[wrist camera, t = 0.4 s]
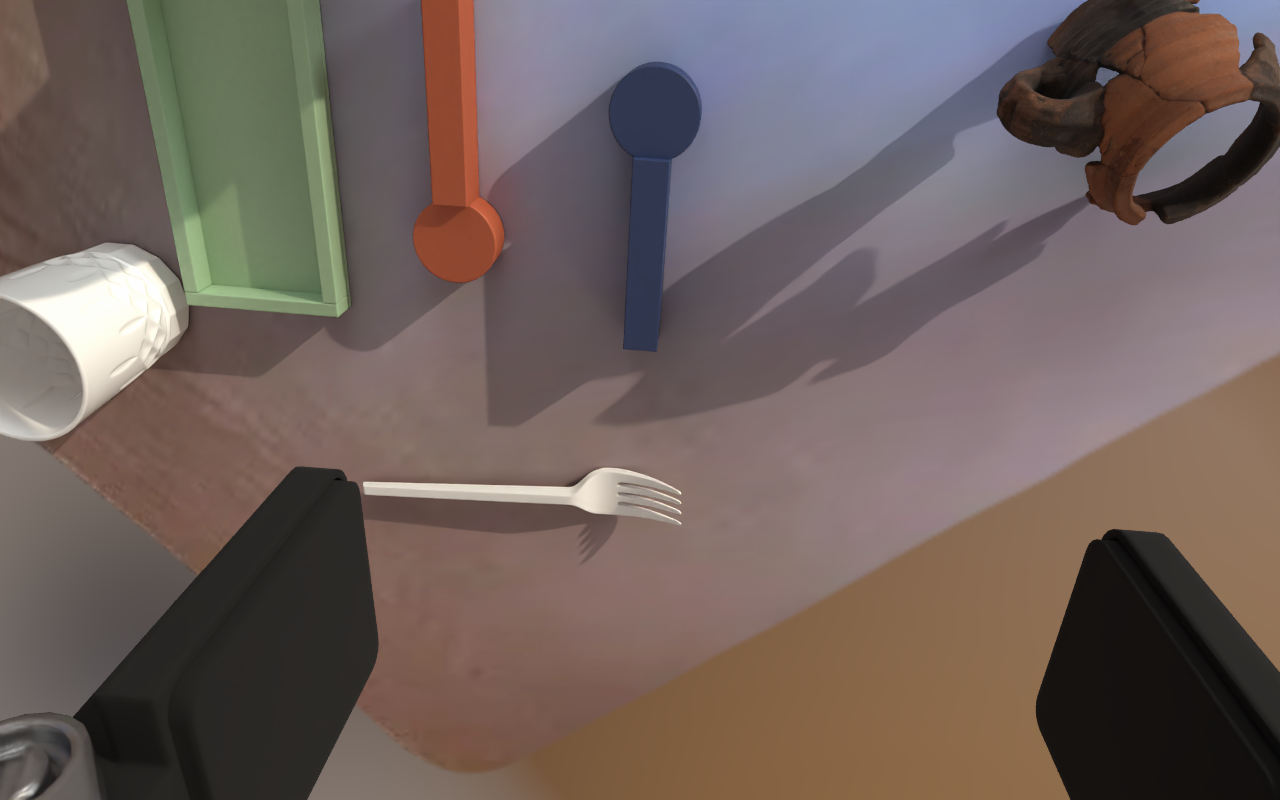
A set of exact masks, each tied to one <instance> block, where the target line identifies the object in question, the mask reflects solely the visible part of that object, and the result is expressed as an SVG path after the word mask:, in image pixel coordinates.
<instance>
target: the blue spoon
mask: <svg viewBox="0 0 1280 800" xmlns="http://www.w3.org/2000/svg"><path fill="white" fill-rule="evenodd" d="M701 107H702V106H701V99H700V95H699V92H698V89H697V87H696V85H695V83H694V82H693V81H692V79H691V78H690V77H689V76H688V75H687V74H686V73H685V72H684V71H683V70H681V69H680V68H678V67H676V66H674V65H671V64H668V63H663V62H652V63H646V64H643V65H641V66H638V67H636V68H635V69H633V70H632V71H631V72H629V73H628V74H627V75H626V76H625V77H624V78H623V79H622V81H621V82H620V83H619V84H618V86H617V87H616V89H615V91H614V92H613V95H612V98H611V101H610V105H609V122H610V126H611V130H612V132H613V135H614V137H615V139H616V140H617V142H618V143H619V145H620V146H621V147H622V148H623V149H624V150H625V151H626V152H627V153H629V154H630V155H632V156H634V158H633V164H632V184H631V204H630V224H629V244H628V264H627V284H626V304H625V324H624V344H623V349H629V350H641V351H653V352H656V351H657V346H658V340H659V333H660V319H661V305H662V291H663V277H664V263H665V248H666V234H667V220H668V206H669V192H670V178H671V163H672V158H675V157H676V156H678V155H680V154H681V153H682V152H684V151H685V150H686V149H687V148H688V147H689V146H690V144H691V143H692V142H693V140H694V138H695V137H696V134H697V132H698V129H699V126H700V120H701Z"/></svg>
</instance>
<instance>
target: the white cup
mask: <svg viewBox="0 0 1280 800" xmlns="http://www.w3.org/2000/svg"><path fill="white" fill-rule="evenodd" d="M188 323H189V305H188V304H187V301H186V296H185V292H184V290H183V288H182V285H181V283H180V280H179V279H178V277H177V276H176V275H175V274H174V273H173V272H172V271H171V270H170V269H169V268H168V267H167V266H166V265H165V264H164V263H163V262H162V261H161V259H160V258H158V257H156V256H154V255H152V254H150V253H149V252H147V251H145V250H143V249H141V248H139V247H137V246H135V245H132V244H119V243H103V244H100V245H98V246H95V247H92V248H90V249H87V250H84V251H81V252H78V253H75V254H70V255H64V256H60V257H57V258H53V259H50V260H47V261H44V262H41V263H37V264H34V265H31V266H28V267H25V268H22V269H20V270H17V271H14V272H11V273H8V274H5V275H2V276H0V434H1V435H3V436H6V437H9V438H13V439H18V440H24V441H46V440H51V439H55V438H58V437H60V436H63V435H65V434H66V433H68V432H69V431H71V430H72V429H73V428H75V427H76V426H77V425H78V424H80V423H81V422H82V421H83V420H85V419H86V418H87V417H88V416H90V415H91V414H92V413H94V412H95V411H96V410H97V409H99V408H100V407H101V406H103V405H104V404H105V403H106V402H108V401H109V400H110V399H112V398H113V397H114V396H115V395H117V394H118V393H119V392H121V391H122V390H123V389H124V388H126V387H127V386H128V385H129V384H131V383H132V382H133V381H134V380H135V379H136V378H137V377H138V376H139V375H141V374H142V373H144V372H145V371H146V370H147V369H148V368H149V367H150V366H152V365H153V364H154V363H155V362H156V361H157V360H158V358H160V357H161V356H162V355H163V354H165V353H166V352H167V351H169V350H170V349H171V348H173V347H174V346H175V345H176V344H177V343H178V341H179V340H180V338H181V337H182V336H183V334H184V333H185V331H186V330H187V328H188Z"/></svg>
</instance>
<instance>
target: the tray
mask: <svg viewBox="0 0 1280 800" xmlns="http://www.w3.org/2000/svg"><path fill="white" fill-rule="evenodd" d="M127 5H128V10H129V15H130V20H131V25H132V30H133V35H134V40H135V45H136V50H137V55H138V60H139V65H140V70H141V75H142V80H143V85H144V90H145V95H146V101H147V106H148V111H149V116H150V121H151V126H152V131H153V136H154V141H155V146H156V151H157V156H158V161H159V166H160V171H161V176H162V181H163V186H164V191H165V196H166V201H167V206H168V211H169V216H170V221H171V226H172V231H173V236H174V241H175V246H176V251H177V256H178V261H179V266H180V271H181V276H182V281H183V287H184V291H186V292H185V296H186V301H187V304H188V305H194V306H206V307H218V308H230V309H242V310H254V311H266V312H279V313H291V314H303V315H315V316H327V317H339V316H340V315H341V314H343V313H344V312H345V311H346V310H347V309H348V308H350V307H351V297H350V287H349V278H348V269H347V259H346V250H345V240H344V231H343V221H342V212H341V202H340V193H339V183H338V174H337V164H336V155H335V145H334V136H333V127H332V117H331V108H330V98H329V89H328V79H327V70H326V60H325V51H324V41H323V32H322V22H321V13H320V3H319V0H127Z"/></svg>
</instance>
